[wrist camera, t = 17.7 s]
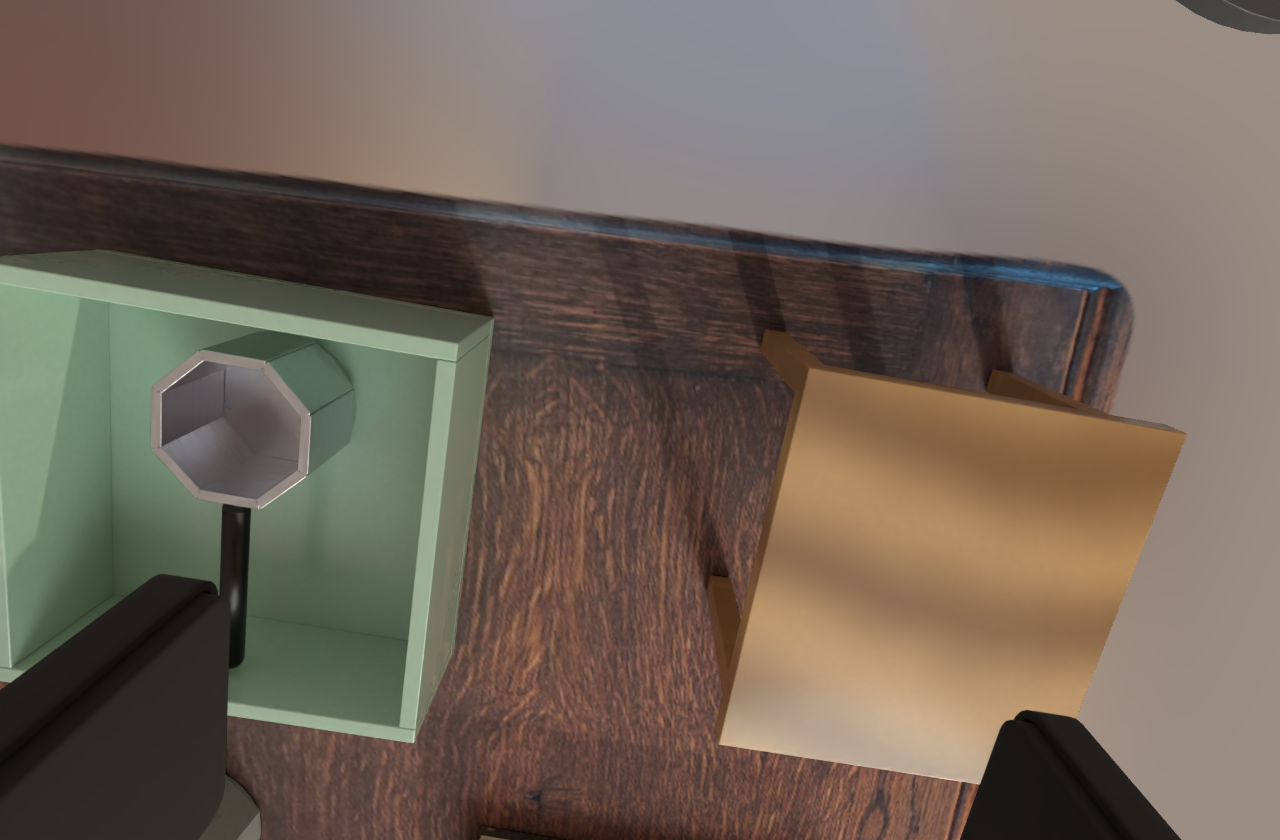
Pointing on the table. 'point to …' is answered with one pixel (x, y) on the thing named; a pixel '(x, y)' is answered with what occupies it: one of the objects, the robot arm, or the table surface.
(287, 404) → the saucepan
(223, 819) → the coffeepot
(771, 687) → the stand
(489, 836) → the hardcover book
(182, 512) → the basin
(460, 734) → the table surface
